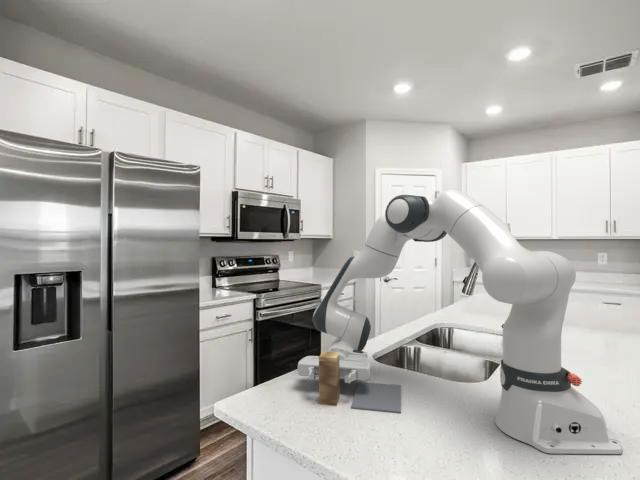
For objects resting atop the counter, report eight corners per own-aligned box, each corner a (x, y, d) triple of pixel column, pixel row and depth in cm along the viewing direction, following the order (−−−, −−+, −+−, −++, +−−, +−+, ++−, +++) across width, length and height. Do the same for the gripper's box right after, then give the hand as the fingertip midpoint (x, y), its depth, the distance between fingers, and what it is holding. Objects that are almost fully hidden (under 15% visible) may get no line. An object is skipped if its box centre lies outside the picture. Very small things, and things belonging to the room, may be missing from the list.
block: (339, 398, 95) (339, 352, 95) (336, 405, 90) (336, 358, 90) (322, 396, 96) (322, 351, 96) (319, 404, 91) (318, 356, 91)
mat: (400, 386, 102) (400, 385, 102) (400, 413, 86) (400, 411, 86) (358, 383, 104) (358, 381, 104) (351, 408, 89) (351, 406, 89)
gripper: (304, 348, 108) (290, 363, 95) (372, 352, 104) (368, 369, 90) (304, 369, 108) (290, 387, 95) (372, 374, 104) (368, 394, 90)
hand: (329, 378), depth 92 cm, fingers open, 8 cm apart
